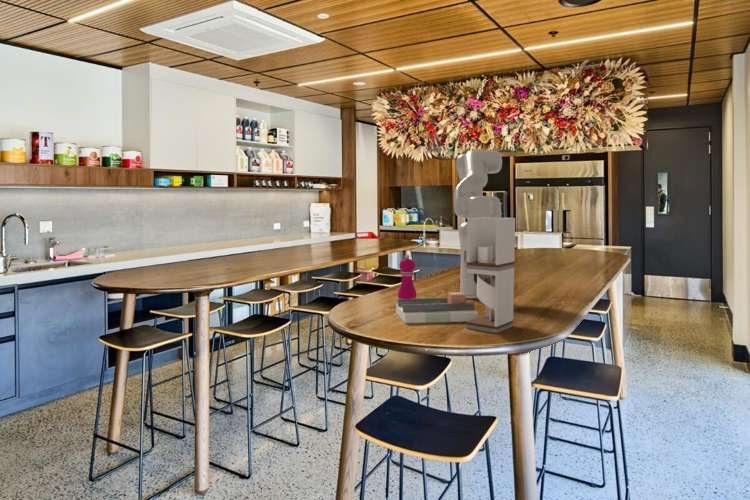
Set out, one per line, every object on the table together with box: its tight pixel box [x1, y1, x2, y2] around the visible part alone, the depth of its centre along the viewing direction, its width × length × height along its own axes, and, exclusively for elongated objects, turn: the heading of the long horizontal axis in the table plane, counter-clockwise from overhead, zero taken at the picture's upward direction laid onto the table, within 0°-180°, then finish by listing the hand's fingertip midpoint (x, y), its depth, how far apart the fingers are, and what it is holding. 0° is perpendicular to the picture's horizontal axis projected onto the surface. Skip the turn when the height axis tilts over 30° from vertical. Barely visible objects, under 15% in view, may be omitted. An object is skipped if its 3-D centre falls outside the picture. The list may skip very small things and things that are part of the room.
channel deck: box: [395, 303, 479, 324], centre depth 186 cm, size 25×18×3 cm
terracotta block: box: [447, 291, 465, 303], centre depth 187 cm, size 5×5×5 cm
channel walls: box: [397, 297, 476, 312], centre depth 186 cm, size 25×11×2 cm, turn 97°
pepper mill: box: [397, 254, 417, 299], centre depth 204 cm, size 7×7×20 cm
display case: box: [465, 217, 516, 334], centre depth 169 cm, size 11×11×35 cm
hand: (478, 283), depth 187 cm, fingers closed
